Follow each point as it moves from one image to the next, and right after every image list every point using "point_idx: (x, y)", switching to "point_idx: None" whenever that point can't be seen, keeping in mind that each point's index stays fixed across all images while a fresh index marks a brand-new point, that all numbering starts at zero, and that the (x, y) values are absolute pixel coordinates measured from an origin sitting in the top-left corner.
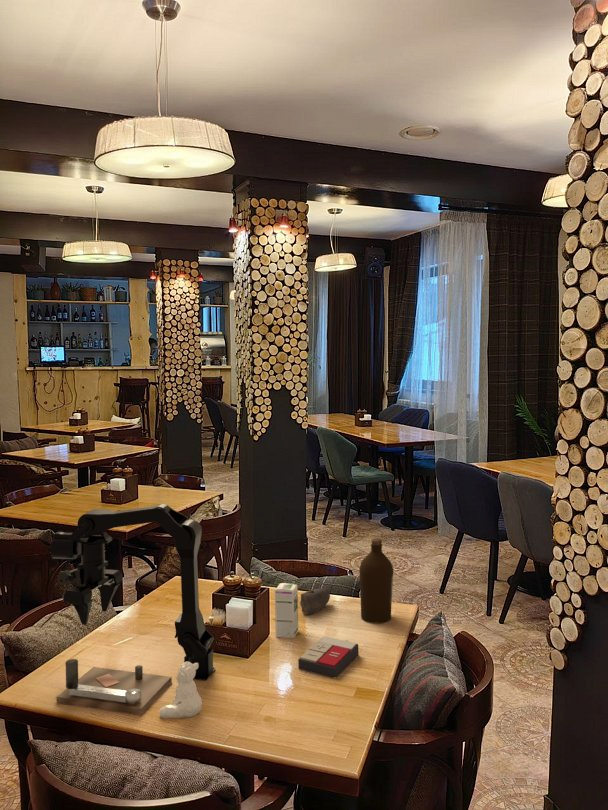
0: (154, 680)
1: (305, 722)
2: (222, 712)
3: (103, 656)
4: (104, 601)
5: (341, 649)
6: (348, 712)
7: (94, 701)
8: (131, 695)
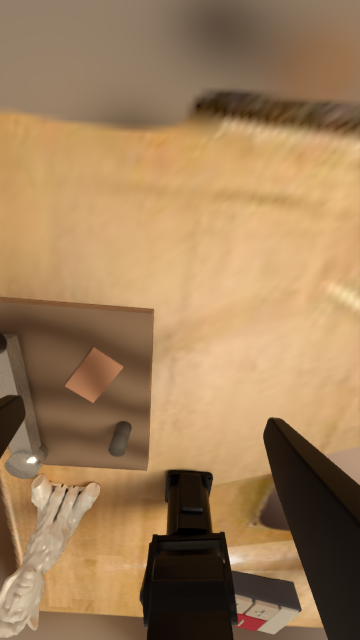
0: (125, 451)
1: (96, 583)
2: (85, 527)
3: (248, 290)
4: (313, 524)
5: (253, 626)
6: (129, 604)
7: None
8: (9, 469)
